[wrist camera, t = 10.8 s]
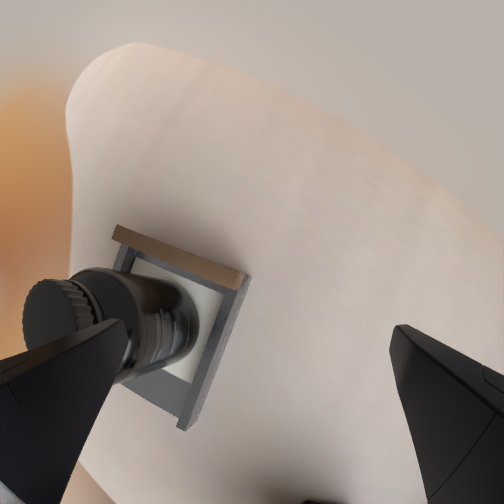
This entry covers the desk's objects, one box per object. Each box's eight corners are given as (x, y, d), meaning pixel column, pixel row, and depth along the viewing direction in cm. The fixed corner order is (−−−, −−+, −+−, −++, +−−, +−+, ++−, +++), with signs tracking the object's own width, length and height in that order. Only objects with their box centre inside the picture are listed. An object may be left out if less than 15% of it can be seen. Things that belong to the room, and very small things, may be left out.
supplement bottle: (158, 262, 23) (47, 226, 12) (220, 318, 22) (124, 330, 10) (115, 323, 23) (1, 325, 12) (168, 380, 22) (62, 426, 10)
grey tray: (196, 420, 22) (176, 438, 18) (101, 364, 24) (73, 369, 20) (251, 277, 23) (239, 271, 19) (142, 235, 25) (116, 224, 22)
